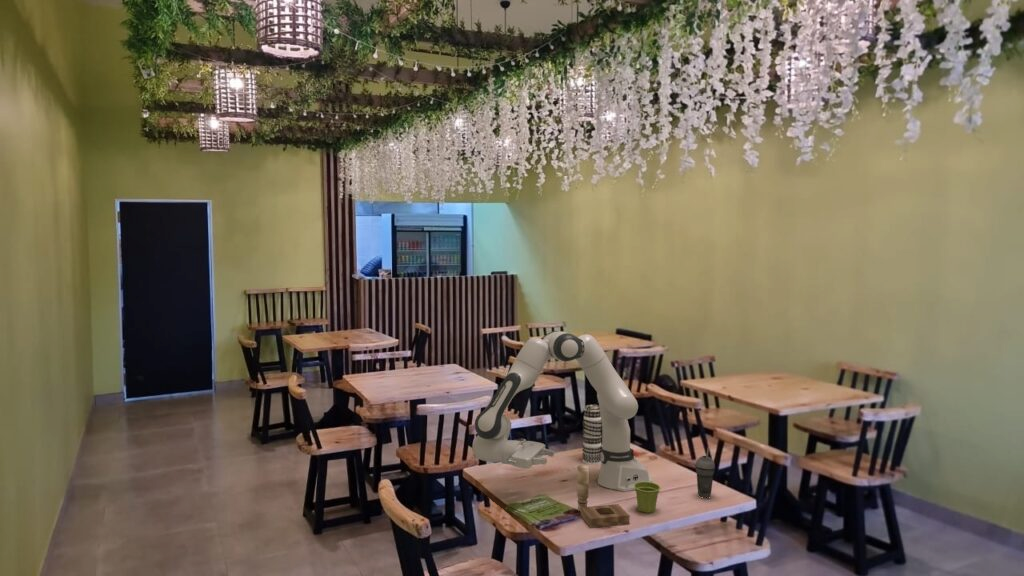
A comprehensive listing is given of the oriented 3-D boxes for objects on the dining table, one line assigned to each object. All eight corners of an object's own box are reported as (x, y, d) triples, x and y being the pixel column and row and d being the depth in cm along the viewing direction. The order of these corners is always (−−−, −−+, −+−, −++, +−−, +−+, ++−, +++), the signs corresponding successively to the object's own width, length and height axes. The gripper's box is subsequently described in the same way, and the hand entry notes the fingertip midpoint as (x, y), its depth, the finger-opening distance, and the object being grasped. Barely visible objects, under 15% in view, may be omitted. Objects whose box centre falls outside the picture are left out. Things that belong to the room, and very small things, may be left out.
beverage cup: (700, 491, 248) (701, 440, 247) (717, 496, 243) (719, 445, 241) (690, 496, 243) (692, 444, 241) (708, 501, 237) (709, 449, 236)
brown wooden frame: (618, 512, 227) (618, 504, 227) (629, 524, 218) (629, 515, 217) (580, 515, 224) (580, 507, 224) (590, 527, 214) (590, 519, 214)
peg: (585, 508, 231) (586, 464, 230) (589, 512, 227) (590, 468, 226) (575, 508, 230) (575, 465, 229) (579, 513, 226) (579, 469, 225)
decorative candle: (605, 464, 278) (606, 407, 277) (585, 465, 277) (586, 408, 275) (598, 457, 287) (599, 402, 286) (579, 458, 286) (579, 403, 284)
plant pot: (664, 513, 227) (665, 489, 226) (641, 516, 224) (641, 492, 223) (651, 503, 236) (652, 480, 235) (628, 506, 233) (629, 482, 232)
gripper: (504, 452, 226) (541, 457, 222) (523, 437, 246) (557, 441, 241) (504, 469, 227) (541, 475, 222) (522, 453, 246) (557, 458, 241)
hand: (549, 457), depth 232 cm, fingers open, 8 cm apart
